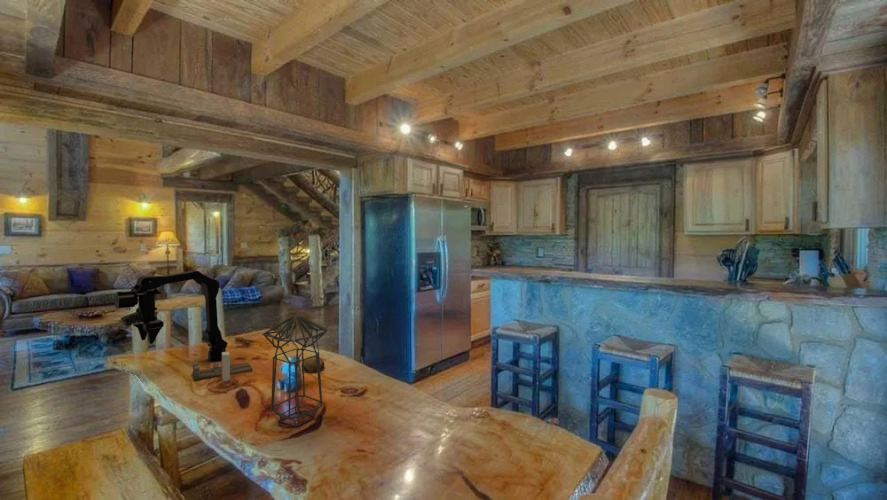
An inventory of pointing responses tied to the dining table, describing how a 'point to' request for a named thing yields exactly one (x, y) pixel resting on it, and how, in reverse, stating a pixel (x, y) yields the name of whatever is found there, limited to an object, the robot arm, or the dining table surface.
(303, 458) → the dining table surface
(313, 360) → the brown rough lump
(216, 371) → the stand
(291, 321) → the geometric lantern
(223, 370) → the rectangular block
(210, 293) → the robot arm
